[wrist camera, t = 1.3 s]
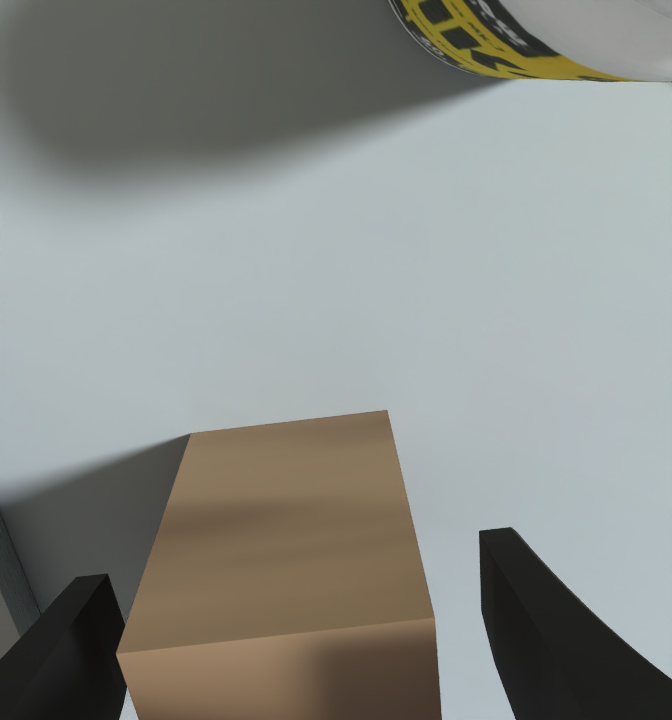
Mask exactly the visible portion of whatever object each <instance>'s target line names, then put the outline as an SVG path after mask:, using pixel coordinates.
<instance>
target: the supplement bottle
mask: <svg viewBox="0 0 672 720" xmlns="http://www.w3.org/2000/svg"><path fill="white" fill-rule="evenodd" d="M388 1H389V3H390V5H391V7H392V9H393V11H394V13H395V14H396V16H397V18H398V19H399V21H400V22H401V23H402V25H403V26H404V28H405V29H406V30H407V31H408V33H409V34H410V35H411V36H412V37H413V38H414V39H415V40H416V41H417V42H418V43H419V44H420V45H421V46H422V47H423V48H424V49H425V50H426V51H428V52H429V53H430V54H432V55H433V56H435V57H436V58H438V59H439V60H441V61H443V62H445V63H446V64H448V65H450V66H453V67H455V68H458V69H460V70H463V71H466V72H469V73H472V74H477V75H481V76H487V77H494V78H510V79H552V80H589V81H599V82H618V81H634V82H672V0H388Z"/></svg>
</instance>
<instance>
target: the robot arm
mask: <svg viewBox="0 0 672 720" xmlns="http://www.w3.org/2000/svg"><path fill="white" fill-rule="evenodd" d="M479 544H480V579H481V611H482V615H483V619H484V623H485V627H486V631H487V635H488V639H489V643H490V647H491V651H492V654H493V658H494V662H495V665H496V668H497V670H498V673H499V676H500V679H501V681H502V684H503V687H504V689H505V692H506V695H507V697H508V700H509V703H510V705H511V708H512V711H513V713H514V716H515V719H516V720H672V679H671V678H669V677H668V676H667V675H665V674H664V673H663V672H662V671H660V670H659V669H658V668H656V667H655V666H654V665H653V664H651V663H650V662H649V661H648V660H646V659H645V658H644V657H643V656H642V655H640V654H639V653H638V652H637V651H636V650H634V649H633V648H632V647H631V646H630V645H629V644H627V643H626V642H625V641H624V640H623V639H622V638H621V637H619V636H618V635H617V634H616V633H615V632H614V631H613V630H612V629H610V628H609V627H608V626H607V625H606V624H605V623H604V622H603V621H602V620H601V619H599V618H598V617H597V616H596V615H595V614H594V613H593V612H592V611H591V610H590V609H589V608H588V607H587V606H586V605H585V604H584V603H583V602H582V601H581V600H580V599H579V598H578V597H577V596H576V595H575V594H574V593H573V592H572V591H571V590H570V589H569V588H567V587H566V585H565V584H564V583H563V582H562V581H561V580H560V579H559V578H558V577H557V576H556V575H555V574H554V573H553V572H552V571H551V570H550V569H549V568H548V567H547V565H546V564H545V563H544V562H543V561H542V560H541V559H540V558H539V557H538V556H537V555H536V553H535V552H534V551H533V550H532V549H531V548H530V547H529V545H528V544H527V543H526V542H525V541H524V540H523V539H522V537H521V536H520V535H519V534H518V533H517V532H516V531H515V530H514V529H513V528H511V527H508V528H500V529H491V530H482V531H479ZM124 629H125V623H124V621H123V618H122V615H121V612H120V609H119V606H118V603H117V600H116V597H115V594H114V591H113V588H112V585H111V582H110V579H109V576H108V574H99V575H91V576H82V577H76V578H75V579H74V580H73V581H72V582H71V583H70V584H69V585H68V587H67V588H66V589H65V590H64V591H63V592H62V593H61V594H60V595H59V596H58V597H57V598H56V599H55V601H54V602H53V603H52V604H51V605H50V606H49V607H48V608H47V609H46V610H45V612H44V613H43V614H42V615H41V616H40V617H39V618H38V619H37V620H36V621H35V623H34V624H33V625H32V626H31V627H30V628H29V629H28V630H27V631H26V632H25V633H24V634H23V635H22V637H21V638H20V639H19V640H18V641H17V642H16V643H15V644H14V645H13V646H12V647H11V648H10V649H9V650H8V652H7V653H6V654H5V655H4V656H3V657H2V658H1V659H0V720H119V718H120V715H121V711H122V708H123V705H124V700H125V695H126V690H127V684H126V682H125V679H124V676H123V673H122V670H121V667H120V665H119V662H118V659H117V656H116V652H117V649H118V646H119V643H120V640H121V637H122V634H123V631H124Z"/></svg>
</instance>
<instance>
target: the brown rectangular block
mask: <svg viewBox="0 0 672 720" xmlns="http://www.w3.org/2000/svg"><path fill="white" fill-rule="evenodd" d="M116 656H117V659H118V662H119V665H120V667H121V670H122V673H123V676H124V679H125V682H126V684H127V687H128V690H129V693H130V696H131V699H132V702H133V704H134V707H135V710H136V713H137V716H138V719H139V720H442V715H441V700H440V686H439V672H438V657H437V643H436V629H435V617H434V612H433V608H432V604H431V599H430V595H429V591H428V586H427V582H426V577H425V573H424V569H423V564H422V560H421V556H420V551H419V547H418V542H417V538H416V534H415V529H414V525H413V521H412V516H411V512H410V508H409V503H408V499H407V494H406V490H405V486H404V481H403V477H402V473H401V468H400V464H399V459H398V455H397V451H396V446H395V442H394V438H393V433H392V429H391V424H390V420H389V416H388V411H387V410H383V411H375V412H366V413H358V414H349V415H341V416H333V417H324V418H316V419H307V420H299V421H290V422H282V423H273V424H265V425H256V426H248V427H240V428H231V429H223V430H214V431H206V432H197V433H191V435H190V438H189V441H188V443H187V446H186V449H185V452H184V455H183V458H182V461H181V464H180V467H179V470H178V473H177V476H176V479H175V482H174V485H173V488H172V490H171V493H170V496H169V499H168V502H167V505H166V508H165V511H164V514H163V517H162V520H161V523H160V526H159V529H158V532H157V535H156V537H155V540H154V543H153V546H152V549H151V552H150V555H149V558H148V561H147V564H146V567H145V570H144V573H143V576H142V579H141V582H140V584H139V587H138V590H137V593H136V596H135V599H134V602H133V605H132V608H131V611H130V614H129V617H128V620H127V623H126V626H125V629H124V631H123V634H122V637H121V640H120V643H119V646H118V649H117V652H116Z"/></svg>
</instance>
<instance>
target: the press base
mask: <svg viewBox="0 0 672 720" xmlns="http://www.w3.org/2000/svg"><path fill="white" fill-rule="evenodd" d="M40 616H41V615H40V612H39V610H38V607H37V605H36V602H35V600H34V597H33V595H32V592H31V590H30V587H29V585H28V582H27V580H26V577H25V575H24V572H23V570H22V568H21V565H20V563H19V560H18V558H17V555H16V553H15V550H14V548H13V545H12V543H11V540H10V538H9V535H8V533H7V530H6V528H5V525H4V523H3V520H2V518H1V516H0V659H1V658H2V657H3V656H4V655H5V654H6V653H7V652H8V650H9V649H10V648H11V647H12V646H13V645H14V644H15V643H16V642H17V641H18V640H19V639H20V638H21V637H22V635H23V634H24V633H25V632H26V631H27V630H28V629H29V628H30V627H31V626H32V625H33V624H34V623H35V621H36V620H37V619H38V618H39V617H40Z"/></svg>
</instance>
